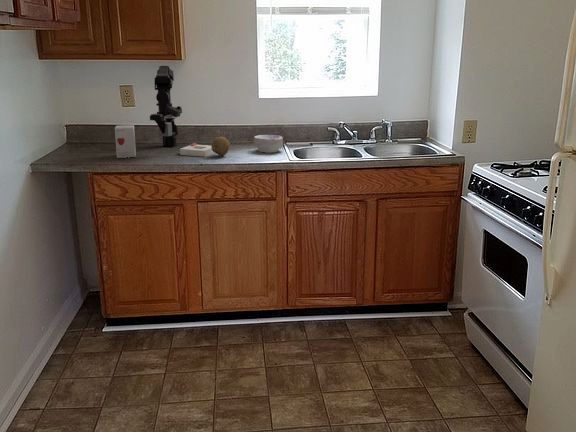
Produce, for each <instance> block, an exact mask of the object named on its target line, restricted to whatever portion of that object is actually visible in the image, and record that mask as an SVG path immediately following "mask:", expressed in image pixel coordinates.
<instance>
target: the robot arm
mask: <svg viewBox="0 0 576 432" xmlns="http://www.w3.org/2000/svg"><path fill="white" fill-rule="evenodd" d="M173 82H175V76H174V70H172V69H171V68H170V66H169V65H160V66H159V68H158V69H157V71H156V75H155V77H154V91H157V93H156V96H155V98H156V101H157V103H156V106H157V107H158V109H157V110H158V111H157V112H156V113H152V114H150V115H149V121H154V122H155V123H156V125H157V126H158V129H159V128H160V130H161V132H162V133H163V134H164V133H165V123H166V122H171V123H172V135H171V136H162V144H161V147H162V148H173V147H174V148H175V147H177V146H178V143H177V138H176V136H178V135H179V134H178V133H179V131H178V126H177V124H176V123H175V119H176V118H178V117H179V118H180V117H181V114H182V113H183V109H182V106H179V105H178V106H173V103H172V101H171V100H172V99H171V90H172V88H173V84H174V83H173Z"/></svg>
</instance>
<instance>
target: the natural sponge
mask: <svg viewBox="0 0 576 432" xmlns="http://www.w3.org/2000/svg"><path fill="white" fill-rule="evenodd" d="M230 145H231V143H230V140H229V139H227V138H226V137H225V136H218V137H216V138H214V140H213V141H212V144H211V146H212V151H213V152H215V153H214V154H217V155H218V156H219V157H224V156H226V154H227V153H229V148H230Z"/></svg>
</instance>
